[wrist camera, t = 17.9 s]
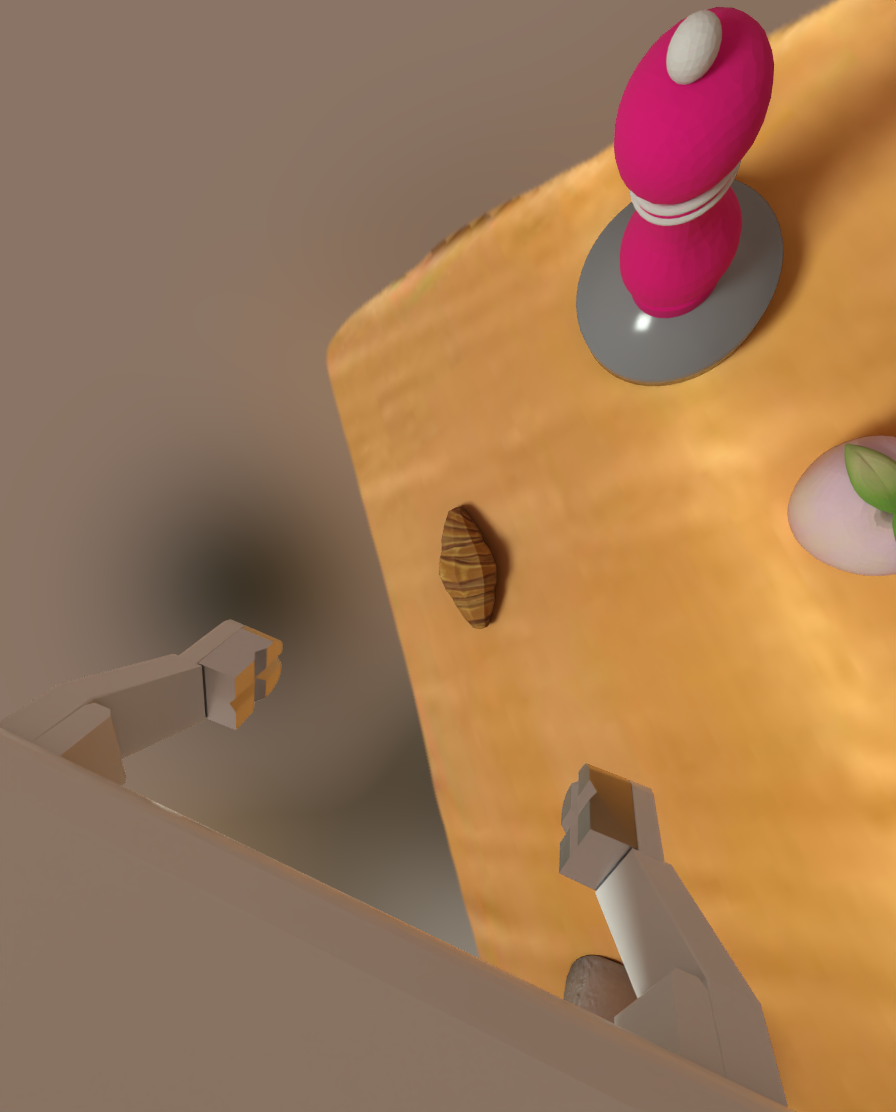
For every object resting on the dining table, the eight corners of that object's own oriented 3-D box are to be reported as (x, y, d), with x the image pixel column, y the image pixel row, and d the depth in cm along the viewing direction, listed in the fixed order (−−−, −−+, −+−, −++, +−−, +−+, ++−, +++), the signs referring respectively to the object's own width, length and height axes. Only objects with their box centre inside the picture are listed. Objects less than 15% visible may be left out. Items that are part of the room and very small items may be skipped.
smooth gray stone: (817, 221, 31) (832, 197, 28) (705, 411, 36) (709, 405, 33) (632, 182, 36) (630, 158, 33) (554, 355, 40) (547, 346, 38)
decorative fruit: (743, 502, 36) (771, 508, 27) (843, 423, 32) (913, 401, 23) (837, 586, 34) (900, 623, 25) (953, 513, 30) (1075, 526, 21)
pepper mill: (686, 198, 32) (722, -165, 14) (754, 265, 31) (889, -38, 13) (604, 283, 35) (549, 73, 17) (664, 346, 34) (671, 193, 16)
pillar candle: (612, 1044, 49) (596, 1254, 36) (550, 967, 51) (514, 1139, 38) (682, 1023, 45) (694, 1250, 32) (612, 940, 47) (596, 1121, 34)
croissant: (515, 622, 47) (500, 637, 42) (460, 627, 50) (440, 642, 45) (489, 499, 46) (471, 501, 41) (435, 512, 49) (412, 516, 44)
